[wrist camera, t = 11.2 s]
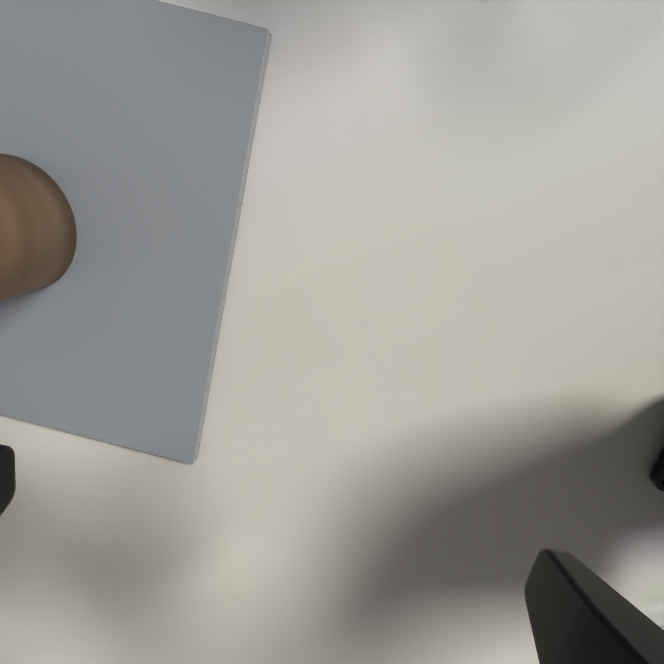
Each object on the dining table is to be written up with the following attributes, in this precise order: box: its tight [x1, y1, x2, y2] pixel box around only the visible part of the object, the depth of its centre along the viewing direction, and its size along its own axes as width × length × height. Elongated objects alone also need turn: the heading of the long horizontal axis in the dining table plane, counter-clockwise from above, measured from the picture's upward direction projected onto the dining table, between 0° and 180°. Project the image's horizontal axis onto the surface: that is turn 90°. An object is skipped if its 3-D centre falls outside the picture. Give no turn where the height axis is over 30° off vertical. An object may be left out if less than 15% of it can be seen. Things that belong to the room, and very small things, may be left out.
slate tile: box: [0, 0, 271, 465], centre depth 18 cm, size 18×18×1 cm
